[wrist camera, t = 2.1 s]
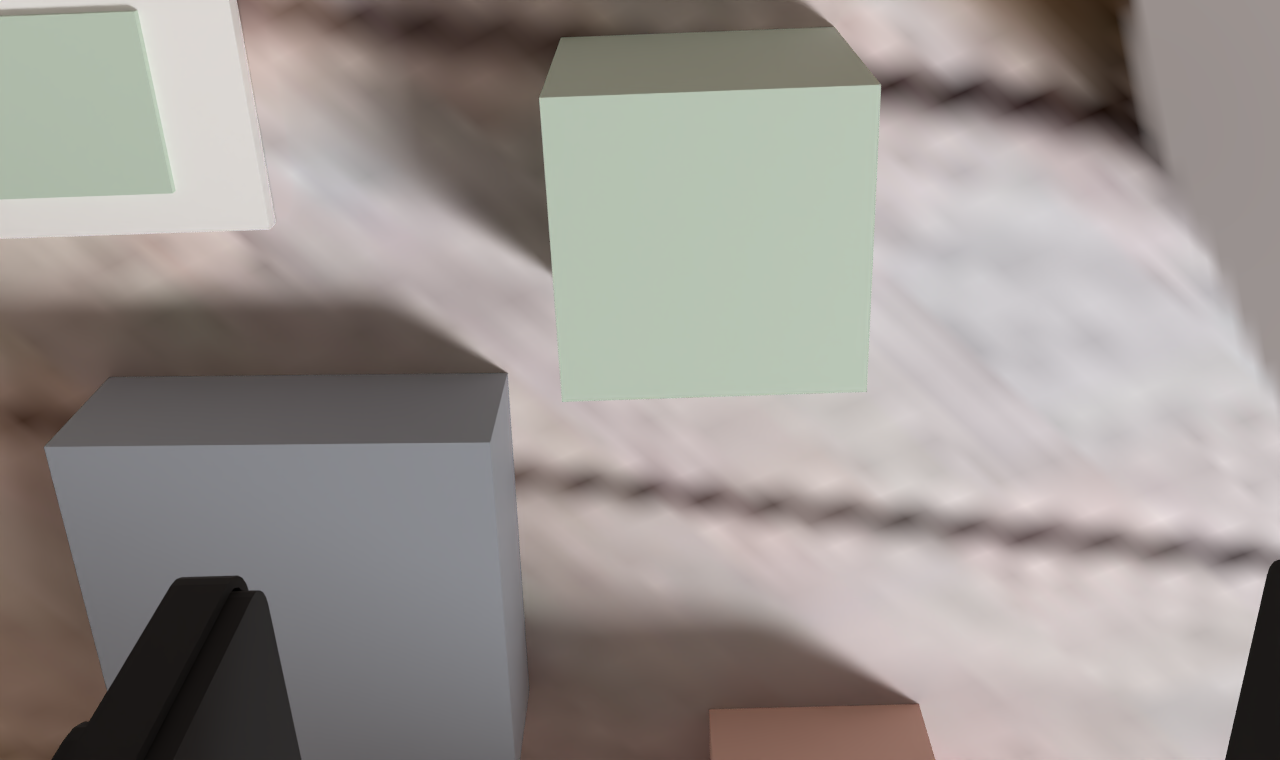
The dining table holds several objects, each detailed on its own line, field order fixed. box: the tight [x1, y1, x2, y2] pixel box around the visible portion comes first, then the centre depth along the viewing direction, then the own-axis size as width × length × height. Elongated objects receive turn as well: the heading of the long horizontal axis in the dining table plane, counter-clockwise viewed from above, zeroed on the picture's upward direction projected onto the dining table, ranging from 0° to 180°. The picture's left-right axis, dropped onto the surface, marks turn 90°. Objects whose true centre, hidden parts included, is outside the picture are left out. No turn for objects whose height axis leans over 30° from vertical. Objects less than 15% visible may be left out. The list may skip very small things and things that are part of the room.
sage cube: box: [539, 27, 881, 402], centre depth 25 cm, size 6×6×6 cm
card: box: [0, 0, 276, 239], centre depth 27 cm, size 8×6×1 cm
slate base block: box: [44, 373, 529, 760], centre depth 31 cm, size 10×10×4 cm
